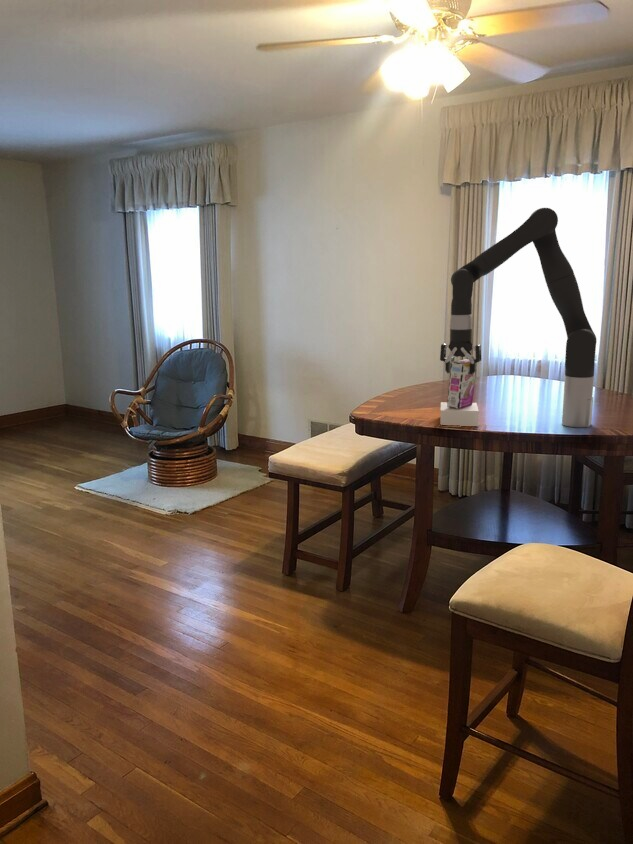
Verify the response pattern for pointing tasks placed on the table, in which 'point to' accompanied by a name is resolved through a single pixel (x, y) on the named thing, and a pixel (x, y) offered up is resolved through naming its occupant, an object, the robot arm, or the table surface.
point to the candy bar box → (461, 385)
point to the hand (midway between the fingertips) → (460, 373)
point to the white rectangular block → (459, 415)
